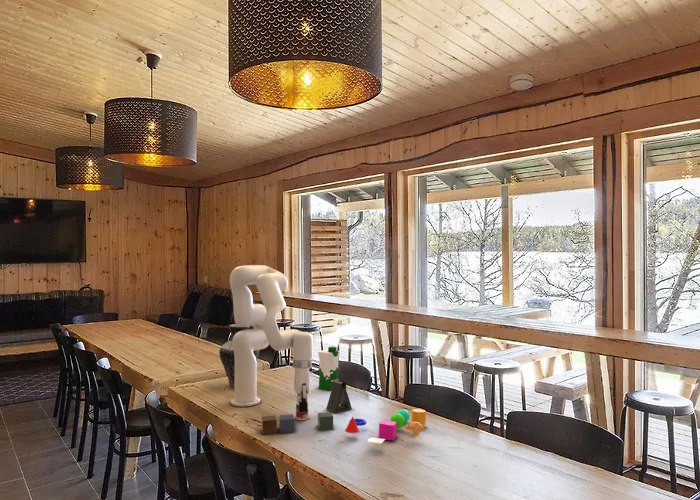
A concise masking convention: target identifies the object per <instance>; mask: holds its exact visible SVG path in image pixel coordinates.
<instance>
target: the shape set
mask: <svg viewBox="0 0 700 500" xmlns="http://www.w3.org/2000/svg"><path fill="white" fill-rule="evenodd" d="M426 413H427V411H426V410H425V409H421V408H413V409H411V422H410V423H409V425H408V424H405V423H407V422H408V421H409V420H410V413H409V411H408V410H407V409H404V408H402V409H399V410H398V411H397V412H396V413H394V414H392V416H390V420H381V421H380V422H379V423H378V438H377V437H373V436H371V437H369V438H368V439H367V440H366V442H368V443H375V444H382V443H383V442H384V441H385V440H386V441H394V440H395V439H396V438H397V436H398V435H397V431H398V430H397V429H400V428H402V427H403V426H404V429H405V430H408V431H412V432H413V436H416V437H417V436H418V437H419V435H420V432H425V430H426V428H425V426H426V419H427V418H426ZM404 424H405V425H404ZM365 425H367V420H366V419H364V418H354V416H353V415H352V416H351V418H350V420H349V421H348V424H347V425H346V428H345V430H344V432H346V433H349V434H357V433H360V429H359V427H362V426H365Z"/></svg>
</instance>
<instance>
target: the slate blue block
mask: <svg viewBox="0 0 700 500" xmlns="http://www.w3.org/2000/svg"><path fill="white" fill-rule="evenodd" d="M295 419H296V418H295V416H294V414H293V413H292V414H279V433H280V434H289V433H295V426H296V425H295V423H296V422H295Z"/></svg>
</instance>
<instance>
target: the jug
mask: <svg viewBox="0 0 700 500" xmlns="http://www.w3.org/2000/svg"><path fill="white" fill-rule="evenodd" d="M229 329H230V339H229V340H228V341H226V342H225V343H224V344H222V345H221V346H220V347H219V352H218V353H219V354H218V355H219V359H220V361H221V364H222V366H223V368H224V371H225V374H226V377H227V379H228V383H229V386H230V387H233V388H235V357H234V349H233V343H232V340H233V337H234V335H235V334H236V333H237V332H239V331H243V330H249V329H250V326H248V327H239V326H237V325H236V323H233V324H229ZM260 351H261V349H260V350H255V351H253V354H254V356H255V358H256V361H257V362H258V360H259V355H260Z"/></svg>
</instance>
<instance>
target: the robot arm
mask: <svg viewBox="0 0 700 500" xmlns="http://www.w3.org/2000/svg"><path fill="white" fill-rule="evenodd" d="M229 275H230V276H229V286H230V291H231V294H232V306H233V318H234V324H236V325H237V326H239V327H253V328H249V330H243V331H239V332H237V333H236V334H235V335H234V337H233V340H232V343H233V349H234V357H235V387H233V389H234V394H233V395H234V396H233V398H232V399H230V404H231V405H232V406H234V407H242V408H243V407H252V406H256V405H259V404H260V403H261V398H260V397H259V396H258V394H257V393H258V391H257V387H258V360H257V361H256V358H255V356H254V354H253V351H255V350H260V351H261V350H264V349H266V348H267V347H269V346H270V347H271V348H272V350H274V351H285V350H290V349H292V368H293V369H294V380H293V390H294V393H295V394H296V397H299V396H300V401H299V412H307V402H308V394H309V393H310V369H312V367H313V334H312V333H311V332H308V331H302V330H299V329H296V328H295V329H294V328H292V329H285V330H280V329H279V326H278V324H277V322H278V321H277V317H278V314H279V313H280V312H282V311H283V310H284V309H285V308H286V306H287V304H286V301H285V298H284V296H283V294H282V293H283V292H285V291H286V290H287V289H288V287H289V281H288V278H287V277H286V275H285V274H284V273H282V272H281V271H279V270H277V269H274V268H272V267H270V266H268V265H264V264H254V265H253V264H247V265H240V266H236V267H235V268H234V269H233V270H232V271H231V273H230V274H229ZM251 285H252V286H253V285H255V286H256V289H257V291H258V293H259V295H260V296H259V297H260V298H261V302H262V304H261V303H254V300H253V299H254V298H253V293H252V291H251V289H250V288H249V286H251ZM301 396H302V397H301Z"/></svg>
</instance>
